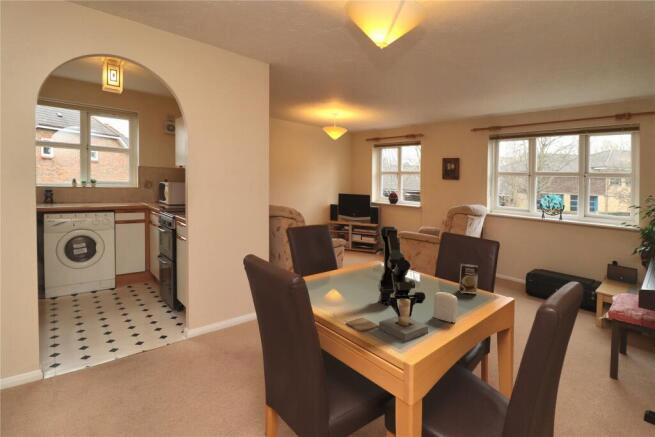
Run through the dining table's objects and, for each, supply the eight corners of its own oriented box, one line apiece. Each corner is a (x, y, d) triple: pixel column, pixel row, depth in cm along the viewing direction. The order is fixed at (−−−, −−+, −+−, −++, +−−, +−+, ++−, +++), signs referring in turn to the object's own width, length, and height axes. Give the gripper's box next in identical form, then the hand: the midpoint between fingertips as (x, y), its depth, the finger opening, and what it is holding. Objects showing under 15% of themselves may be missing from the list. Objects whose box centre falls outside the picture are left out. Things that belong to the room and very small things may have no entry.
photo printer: (431, 317, 154) (433, 291, 153) (435, 315, 157) (437, 289, 156) (453, 324, 147) (455, 296, 146) (457, 321, 150) (459, 294, 149)
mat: (345, 324, 144) (345, 322, 143) (362, 319, 150) (362, 317, 149) (361, 332, 136) (361, 330, 136) (378, 327, 142) (378, 325, 142)
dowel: (395, 329, 139) (397, 299, 138) (402, 327, 142) (404, 297, 141) (403, 333, 136) (405, 302, 135) (410, 331, 138) (412, 300, 137)
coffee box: (459, 293, 192) (461, 265, 190) (458, 290, 198) (460, 263, 196) (476, 295, 189) (478, 267, 187) (475, 292, 195) (477, 264, 194)
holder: (378, 328, 140) (379, 321, 140) (401, 321, 149) (401, 314, 148) (405, 341, 129) (405, 333, 129) (427, 332, 138) (428, 325, 137)
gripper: (381, 272, 140) (385, 307, 130) (425, 273, 141) (433, 308, 131) (377, 285, 149) (380, 319, 139) (418, 286, 149) (425, 319, 140)
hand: (404, 316), depth 137 cm, fingers closed on dowel, 4 cm apart
